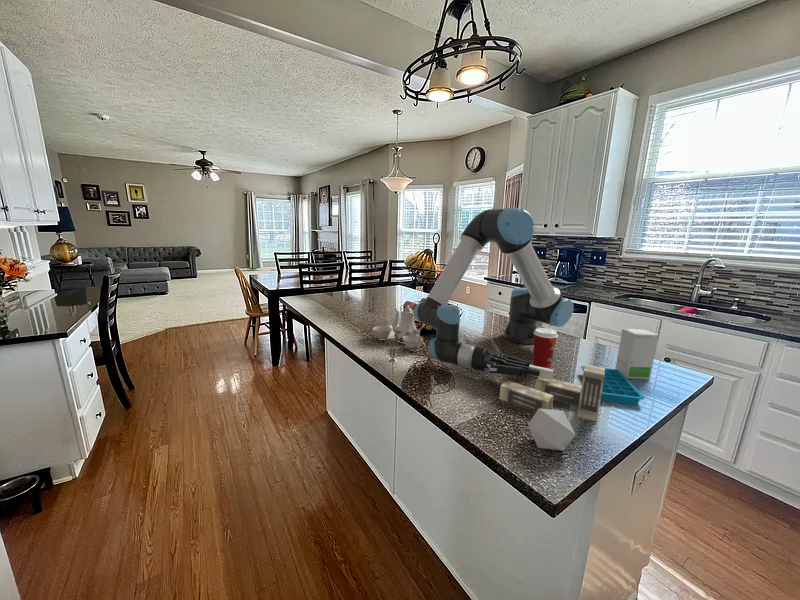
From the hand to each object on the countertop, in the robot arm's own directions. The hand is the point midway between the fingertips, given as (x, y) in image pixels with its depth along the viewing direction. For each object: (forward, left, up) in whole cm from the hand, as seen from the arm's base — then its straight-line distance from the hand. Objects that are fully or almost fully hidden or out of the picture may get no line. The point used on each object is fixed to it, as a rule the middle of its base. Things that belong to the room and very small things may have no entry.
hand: (552, 374), depth 95 cm
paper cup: (-19, -5, -7) cm, 21 cm away
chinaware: (-14, -59, -7) cm, 61 cm away
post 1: (+8, -12, -4) cm, 15 cm away
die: (+25, +3, -7) cm, 26 cm away
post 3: (+6, +10, -6) cm, 13 cm away
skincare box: (-31, +22, -7) cm, 39 cm away
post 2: (0, -4, -5) cm, 6 cm away
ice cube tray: (-15, +15, -7) cm, 22 cm away
